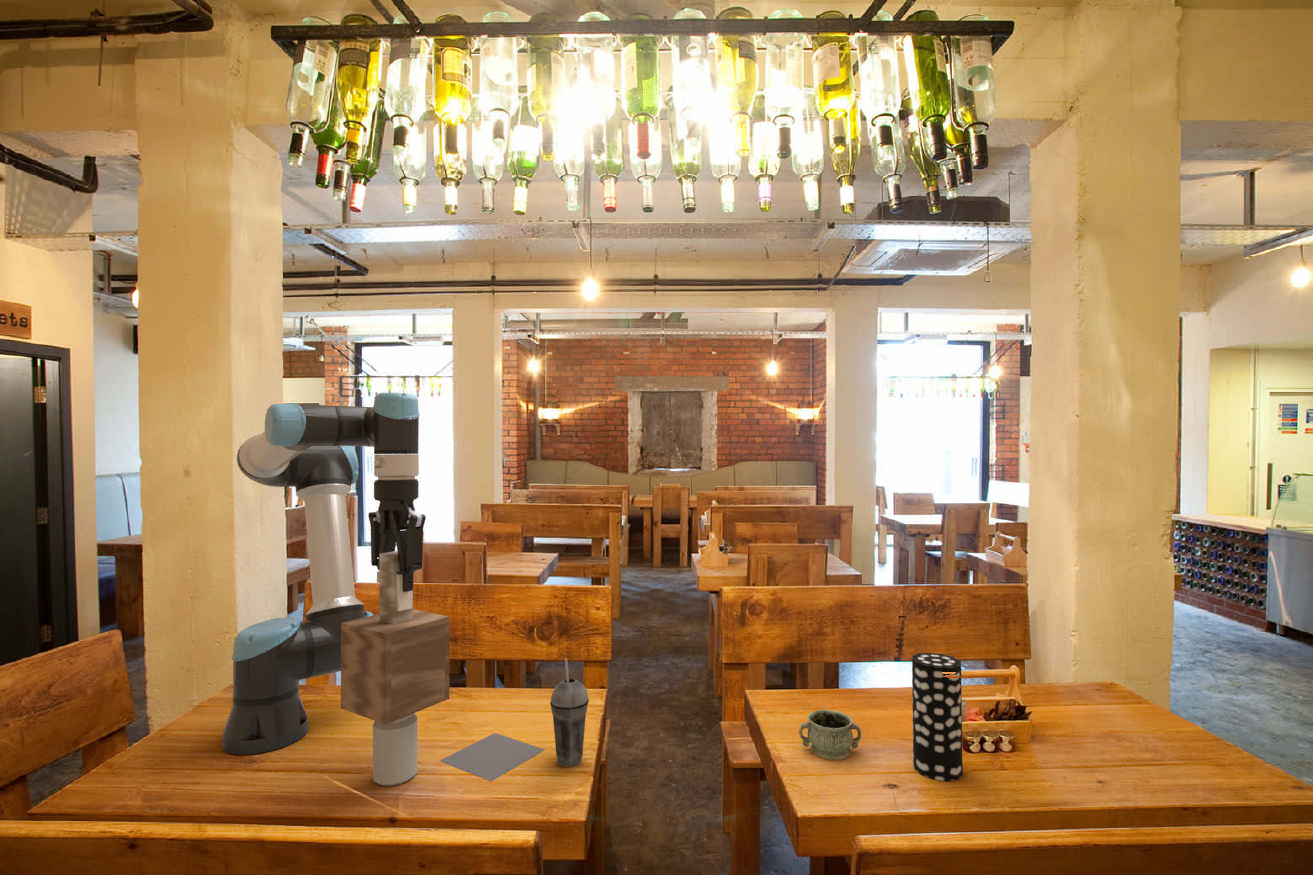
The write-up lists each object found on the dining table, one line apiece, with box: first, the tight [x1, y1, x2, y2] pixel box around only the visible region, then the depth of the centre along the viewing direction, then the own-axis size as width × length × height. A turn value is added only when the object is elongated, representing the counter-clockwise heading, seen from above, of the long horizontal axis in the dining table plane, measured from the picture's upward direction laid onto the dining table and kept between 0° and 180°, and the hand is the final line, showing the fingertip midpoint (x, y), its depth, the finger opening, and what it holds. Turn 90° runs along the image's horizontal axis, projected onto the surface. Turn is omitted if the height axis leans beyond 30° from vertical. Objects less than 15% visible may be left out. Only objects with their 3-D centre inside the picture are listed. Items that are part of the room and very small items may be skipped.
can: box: [372, 713, 418, 787], centre depth 115 cm, size 8×8×12 cm
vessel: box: [798, 709, 862, 761], centre depth 125 cm, size 12×9×6 cm
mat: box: [439, 732, 546, 782], centre depth 123 cm, size 14×14×1 cm
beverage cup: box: [549, 657, 590, 768], centre depth 120 cm, size 7×7×20 cm
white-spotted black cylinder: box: [911, 652, 964, 782], centre depth 117 cm, size 8×8×20 cm
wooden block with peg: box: [340, 550, 450, 725], centre depth 115 cm, size 13×13×27 cm
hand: (396, 607), depth 115 cm, fingers closed on wooden block with peg, 4 cm apart
